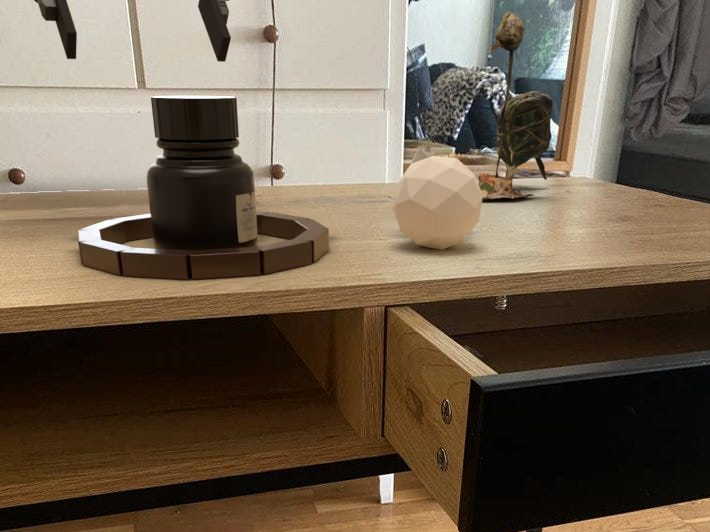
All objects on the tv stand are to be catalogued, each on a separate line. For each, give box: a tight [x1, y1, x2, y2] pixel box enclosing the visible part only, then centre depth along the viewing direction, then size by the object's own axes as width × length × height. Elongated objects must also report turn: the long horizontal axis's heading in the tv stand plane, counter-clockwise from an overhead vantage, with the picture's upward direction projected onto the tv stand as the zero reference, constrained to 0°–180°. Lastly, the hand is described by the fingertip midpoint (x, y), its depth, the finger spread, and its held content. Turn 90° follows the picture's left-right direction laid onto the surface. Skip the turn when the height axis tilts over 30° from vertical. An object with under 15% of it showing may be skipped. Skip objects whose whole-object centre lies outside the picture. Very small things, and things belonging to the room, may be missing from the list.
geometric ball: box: [392, 155, 484, 251], centre depth 67 cm, size 8×8×8 cm
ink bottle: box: [145, 95, 258, 251], centre depth 64 cm, size 10×9×12 cm
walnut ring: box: [77, 211, 330, 281], centre depth 66 cm, size 21×21×2 cm
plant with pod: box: [478, 11, 555, 200], centre depth 92 cm, size 8×11×20 cm
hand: (151, 48), depth 68 cm, fingers open, 13 cm apart
